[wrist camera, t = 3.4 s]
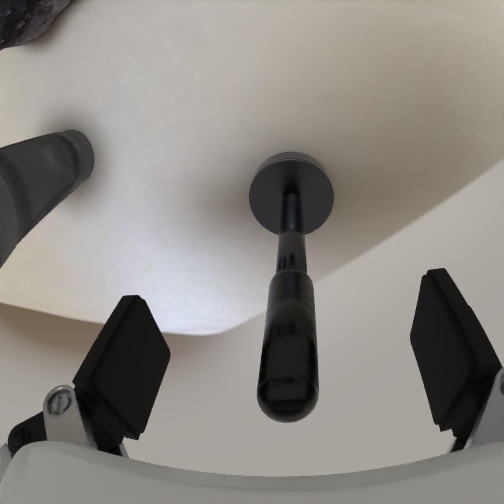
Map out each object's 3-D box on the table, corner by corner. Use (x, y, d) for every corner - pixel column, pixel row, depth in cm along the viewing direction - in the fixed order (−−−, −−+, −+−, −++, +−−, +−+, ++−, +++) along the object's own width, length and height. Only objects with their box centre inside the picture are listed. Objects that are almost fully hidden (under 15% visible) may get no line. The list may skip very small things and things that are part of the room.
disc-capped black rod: (345, 180, 19) (433, 396, 6) (302, 237, 22) (304, 463, 8) (278, 136, 18) (244, 314, 5) (238, 200, 21) (156, 417, 7)
